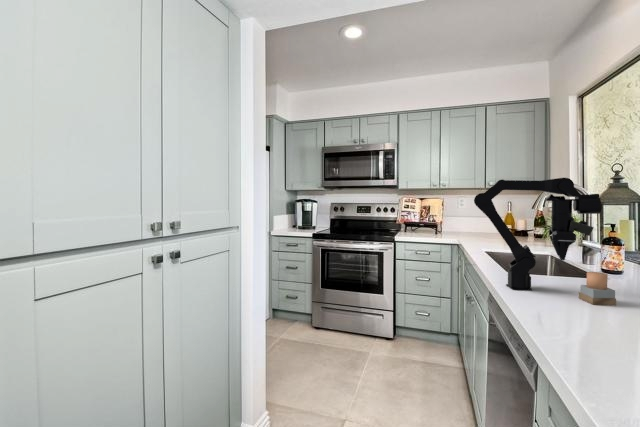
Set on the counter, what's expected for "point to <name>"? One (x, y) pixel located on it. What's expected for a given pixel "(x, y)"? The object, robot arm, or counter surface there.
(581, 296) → the base slab
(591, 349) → the counter surface
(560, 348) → the counter surface
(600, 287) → the tan rounded lump
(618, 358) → the counter surface
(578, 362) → the counter surface
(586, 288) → the top slab
